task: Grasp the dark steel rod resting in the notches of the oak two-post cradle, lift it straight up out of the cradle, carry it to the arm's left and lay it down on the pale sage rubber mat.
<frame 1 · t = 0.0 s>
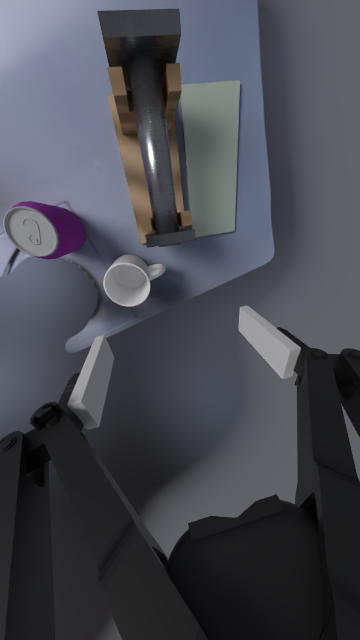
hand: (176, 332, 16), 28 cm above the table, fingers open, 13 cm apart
beverage can: (66, 230, 34), on the table
rod: (155, 171, 27), point 6 cm above the table, touching cradle
cradle: (154, 179, 32), on the table
mug: (138, 269, 40), on the table
mat: (211, 172, 33), on the table
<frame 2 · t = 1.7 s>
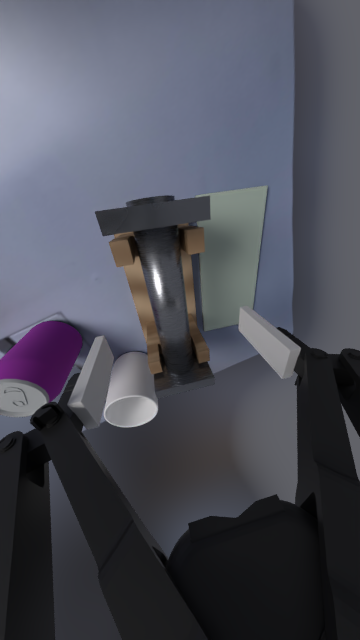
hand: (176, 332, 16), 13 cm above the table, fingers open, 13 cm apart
beverage can: (60, 336, 29), on the table
rod: (166, 297, 23), point 6 cm above the table, touching cradle
cradle: (162, 283, 27), on the table
mug: (143, 361, 35), on the table
mat: (228, 271, 29), on the table
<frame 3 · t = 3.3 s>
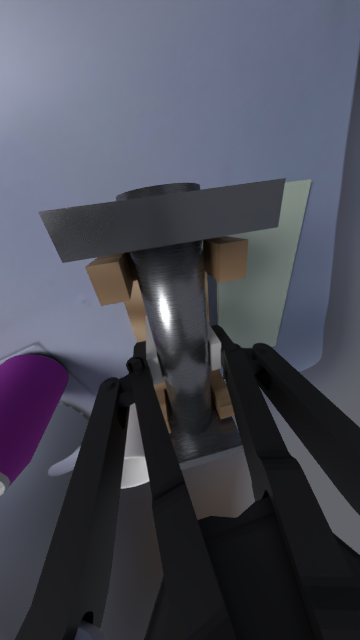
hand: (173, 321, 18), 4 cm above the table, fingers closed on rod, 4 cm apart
beverage can: (40, 370, 23), on the table
rod: (175, 329, 17), point 6 cm above the table, touching cradle, gripper
cradle: (168, 305, 22), on the table
mug: (144, 394, 29), on the table
mat: (252, 288, 23), on the table
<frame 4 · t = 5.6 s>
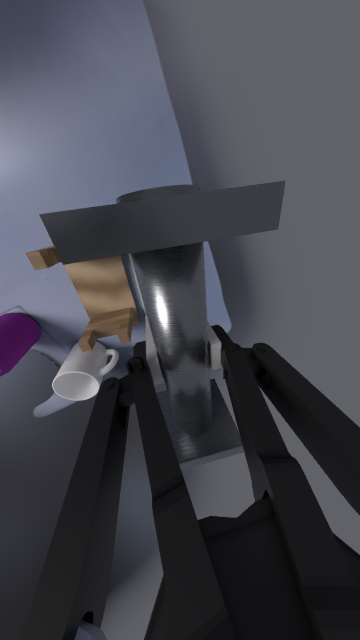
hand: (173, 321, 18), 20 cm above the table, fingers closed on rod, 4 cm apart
beverage can: (22, 326, 35), on the table
rod: (175, 329, 17), point 22 cm above the table, touching gripper
cradle: (102, 283, 34), on the table
mug: (98, 349, 42), on the table
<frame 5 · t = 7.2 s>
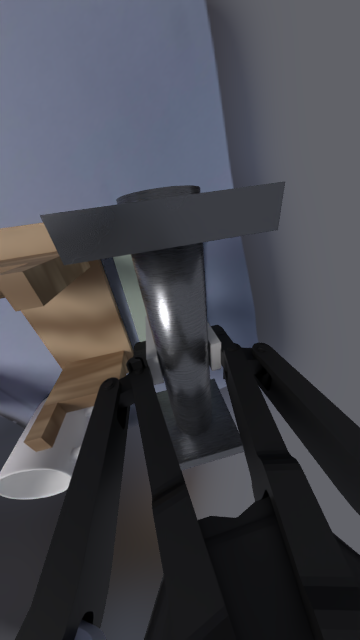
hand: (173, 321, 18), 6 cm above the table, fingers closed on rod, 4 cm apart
rod: (175, 330, 17), point 7 cm above the table, touching gripper
cradle: (79, 317, 22), on the table
mug: (78, 402, 30), on the table
mat: (166, 300, 23), on the table
when the fingers open (1 cm above the table, at t = 8.2 s): rod drops 2 cm, resting on mat.
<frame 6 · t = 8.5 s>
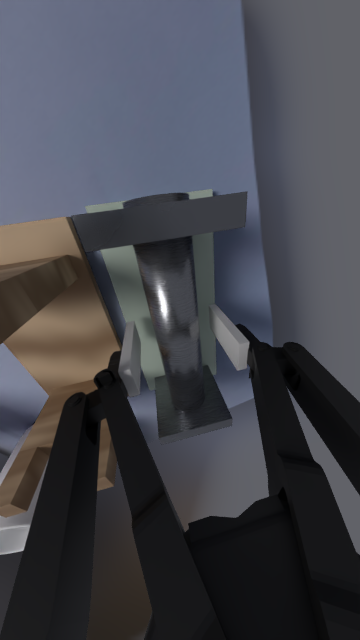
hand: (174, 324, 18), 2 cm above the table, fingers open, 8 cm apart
rod: (172, 318, 19), point 1 cm above the table, touching mat
cradle: (67, 336, 18), on the table
mug: (70, 427, 26), on the table
mat: (171, 315, 19), on the table
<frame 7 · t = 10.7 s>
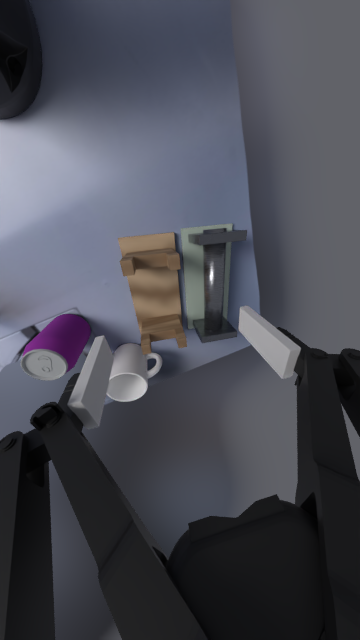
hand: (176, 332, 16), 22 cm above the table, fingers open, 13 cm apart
beverage can: (73, 327, 37), on the table
rod: (207, 283, 37), point 1 cm above the table, touching mat
cradle: (155, 289, 36), on the table
mug: (137, 352, 43), on the table
mat: (206, 282, 37), on the table
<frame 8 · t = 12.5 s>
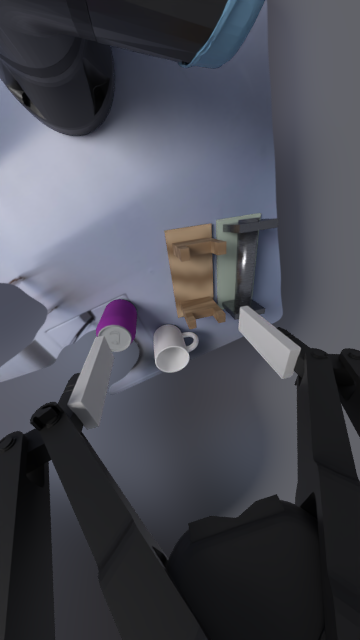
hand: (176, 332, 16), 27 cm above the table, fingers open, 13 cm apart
beverage can: (121, 311, 43), on the table
rod: (236, 267, 42), point 1 cm above the table, touching mat
cradle: (191, 275, 41), on the table
mug: (173, 333, 49), on the table
mat: (235, 267, 42), on the table
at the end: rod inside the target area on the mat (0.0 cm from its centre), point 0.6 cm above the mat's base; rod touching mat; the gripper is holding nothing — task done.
